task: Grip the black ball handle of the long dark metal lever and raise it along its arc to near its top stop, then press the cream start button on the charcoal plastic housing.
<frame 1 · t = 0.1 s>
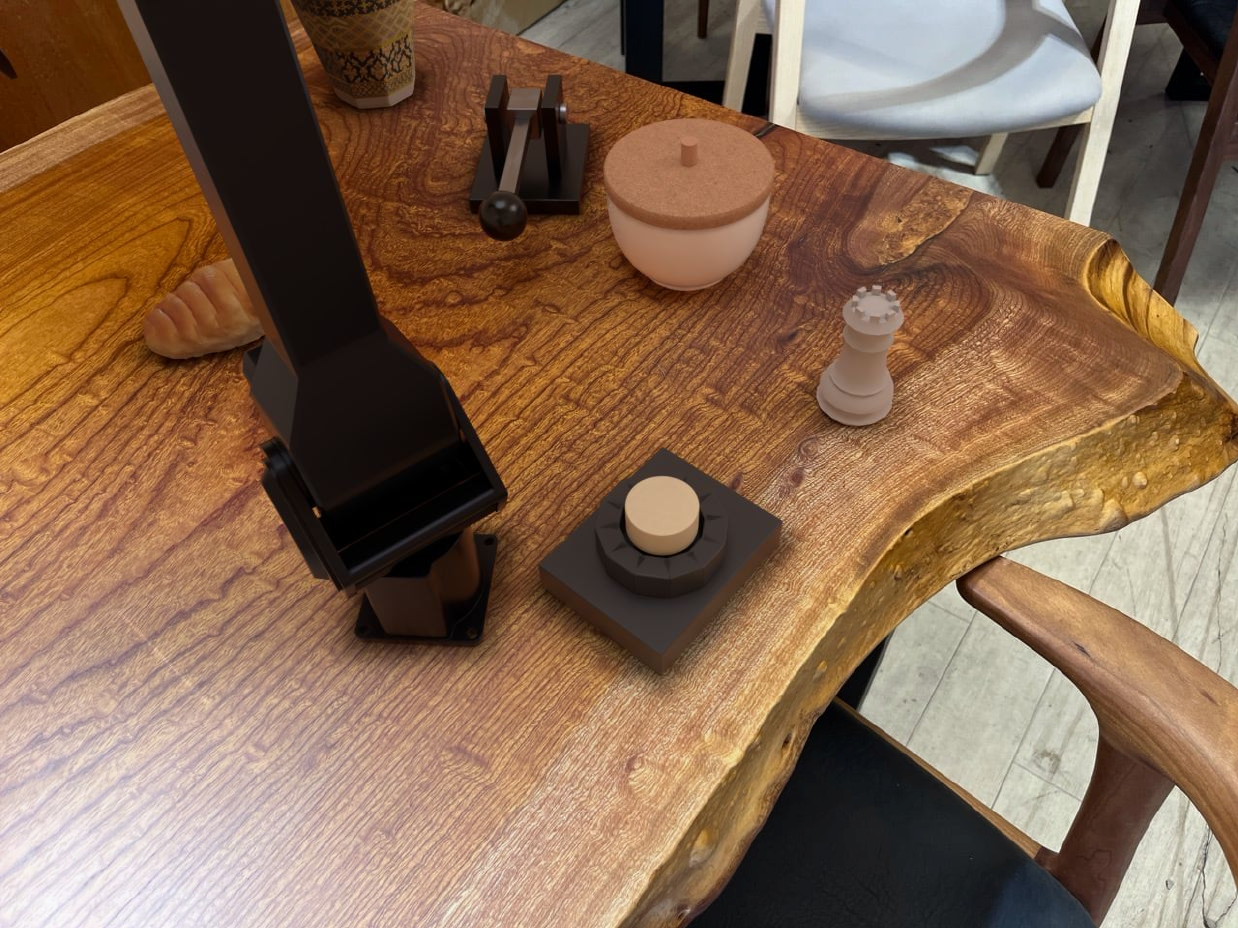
hand: (92, 48, 56), 15 cm above the table, tool pointing down, fingers open, 9 cm apart
rook chess piece: (852, 404, 58), on the table
lever bracket: (533, 173, 73), on the table
toaster lever: (515, 163, 66), point 5 cm above the table, hinge at 0.0°
pastry: (235, 324, 64), on the table
button housing: (661, 565, 51), on the table
ceramic cup: (366, 85, 83), on the table
start button: (662, 515, 47), point 5 cm above the table, slide at 0.2 cm
trinket box: (686, 264, 66), on the table
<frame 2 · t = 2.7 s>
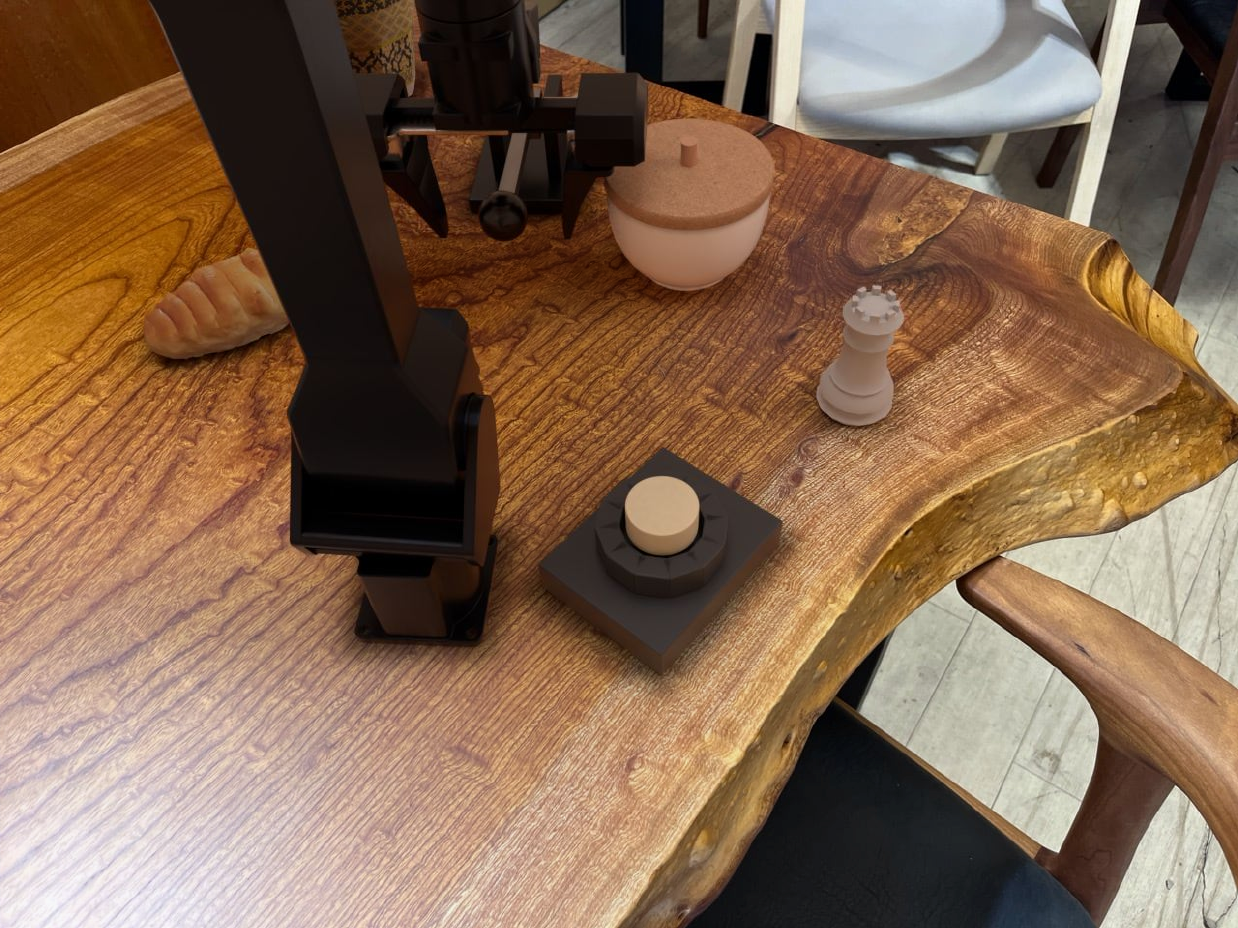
hand: (506, 234, 63), 3 cm above the table, tool pointing down, fingers open, 8 cm apart
trinket box: (686, 264, 66), on the table, touching gripper
everything else where it was.
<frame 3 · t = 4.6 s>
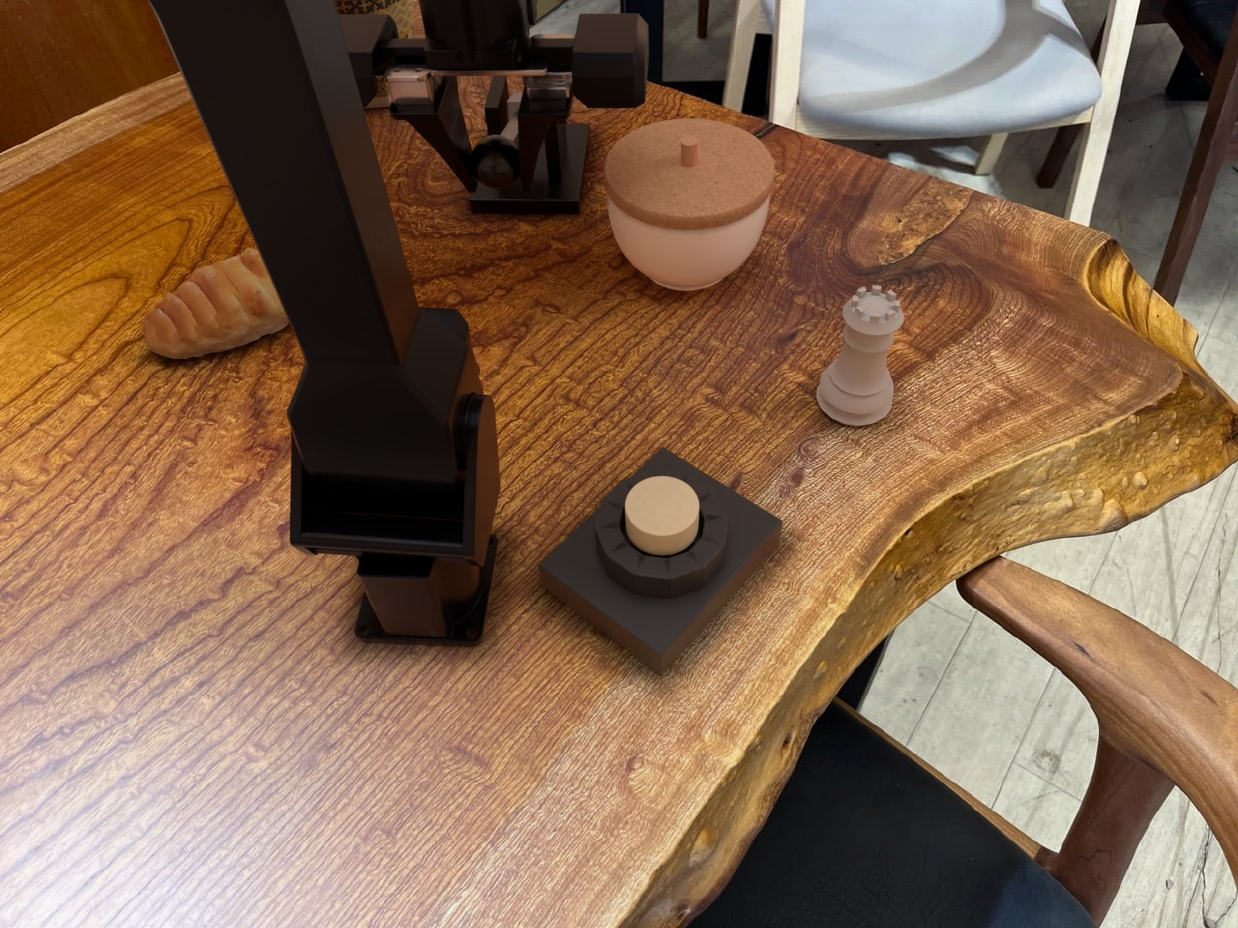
hand: (501, 189, 61), 7 cm above the table, tool pointing down, fingers closed on toaster lever, 3 cm apart
toaster lever: (512, 136, 64), point 7 cm above the table, hinge at 17.5°, touching gripper
trinket box: (686, 264, 66), on the table
everything else where it was.
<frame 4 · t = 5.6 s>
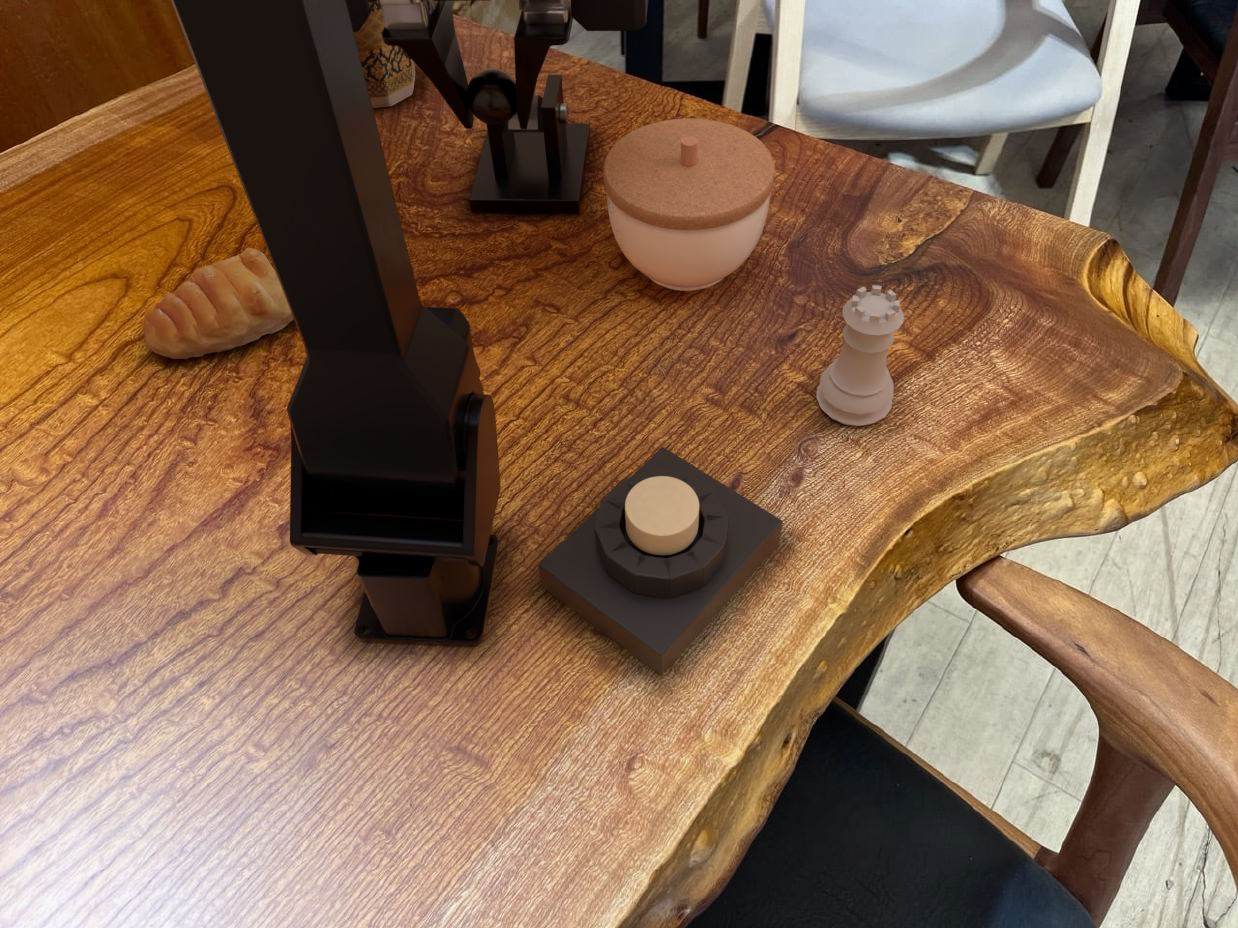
hand: (497, 125, 59), 10 cm above the table, tool pointing down, fingers closed on toaster lever, 3 cm apart
toaster lever: (510, 106, 63), point 9 cm above the table, hinge at 35.7°, touching gripper
everything else where it was.
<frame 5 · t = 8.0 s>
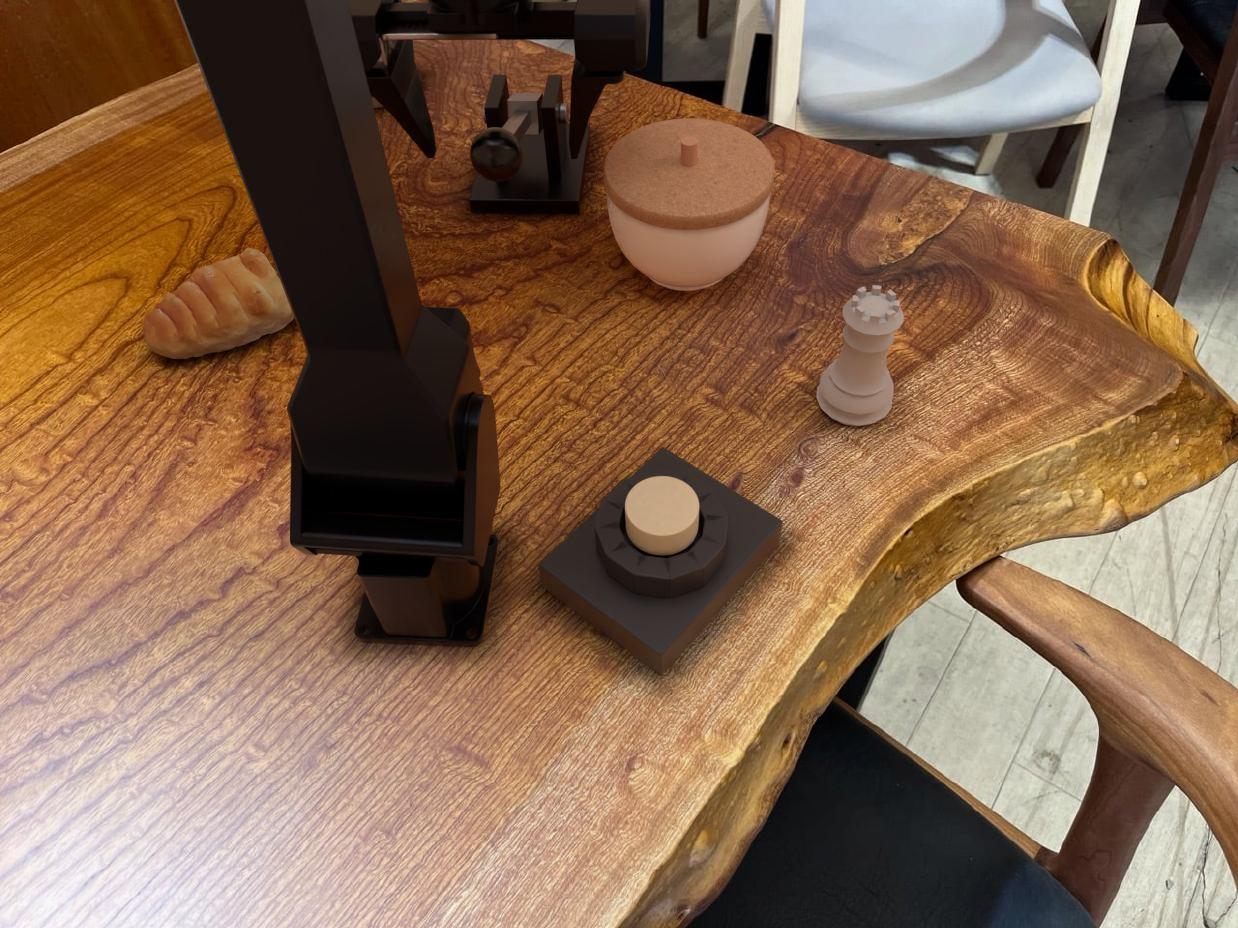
hand: (503, 155, 61), 8 cm above the table, tool pointing down, fingers open, 9 cm apart
toaster lever: (512, 133, 64), point 7 cm above the table, hinge at 19.7°
everything else where it was.
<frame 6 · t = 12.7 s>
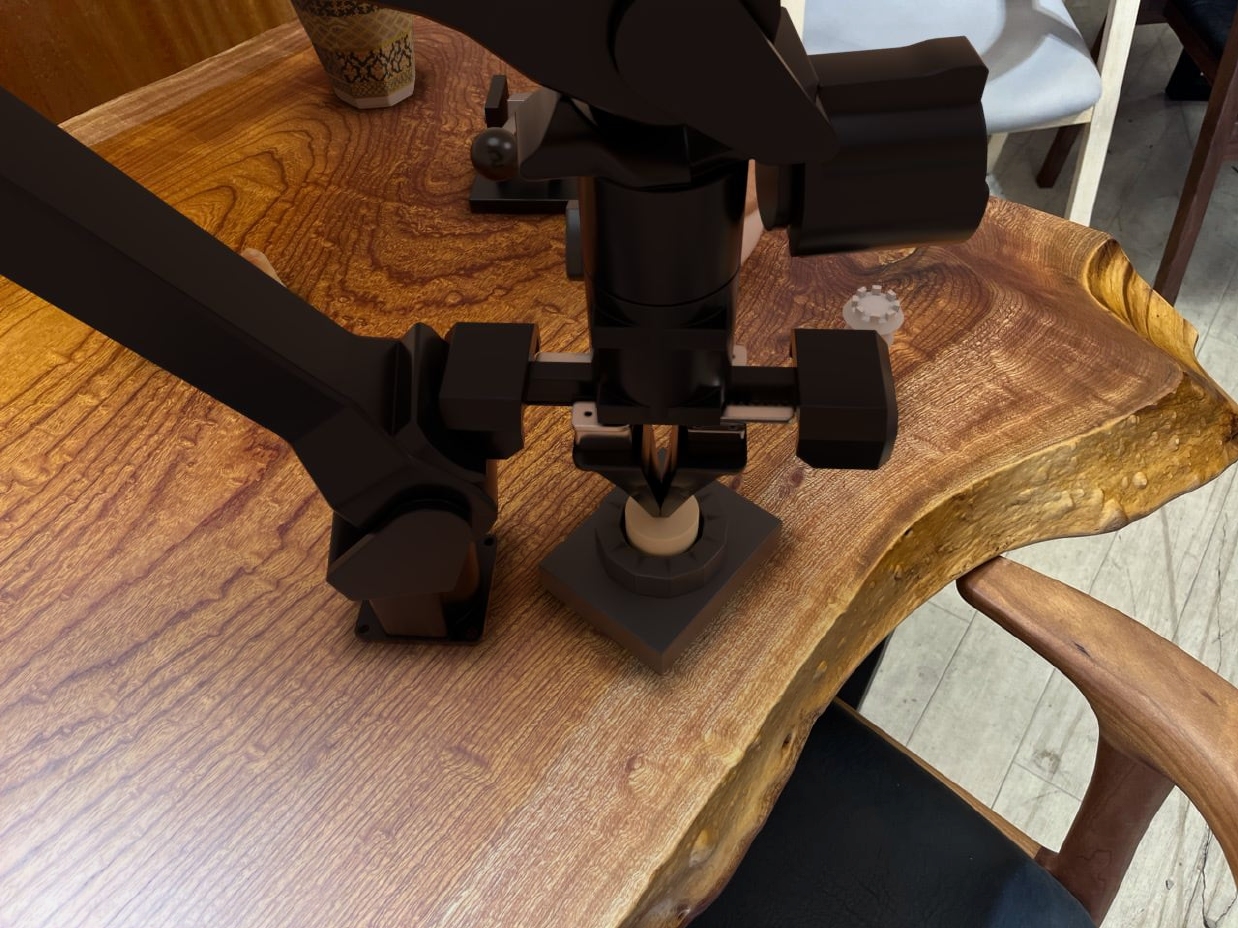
hand: (660, 509, 47), 5 cm above the table, tool pointing down, fingers closed, pressing on start button
start button: (662, 520, 47), point 4 cm above the table, slide at -0.3 cm, touching gripper
everything else where it was.
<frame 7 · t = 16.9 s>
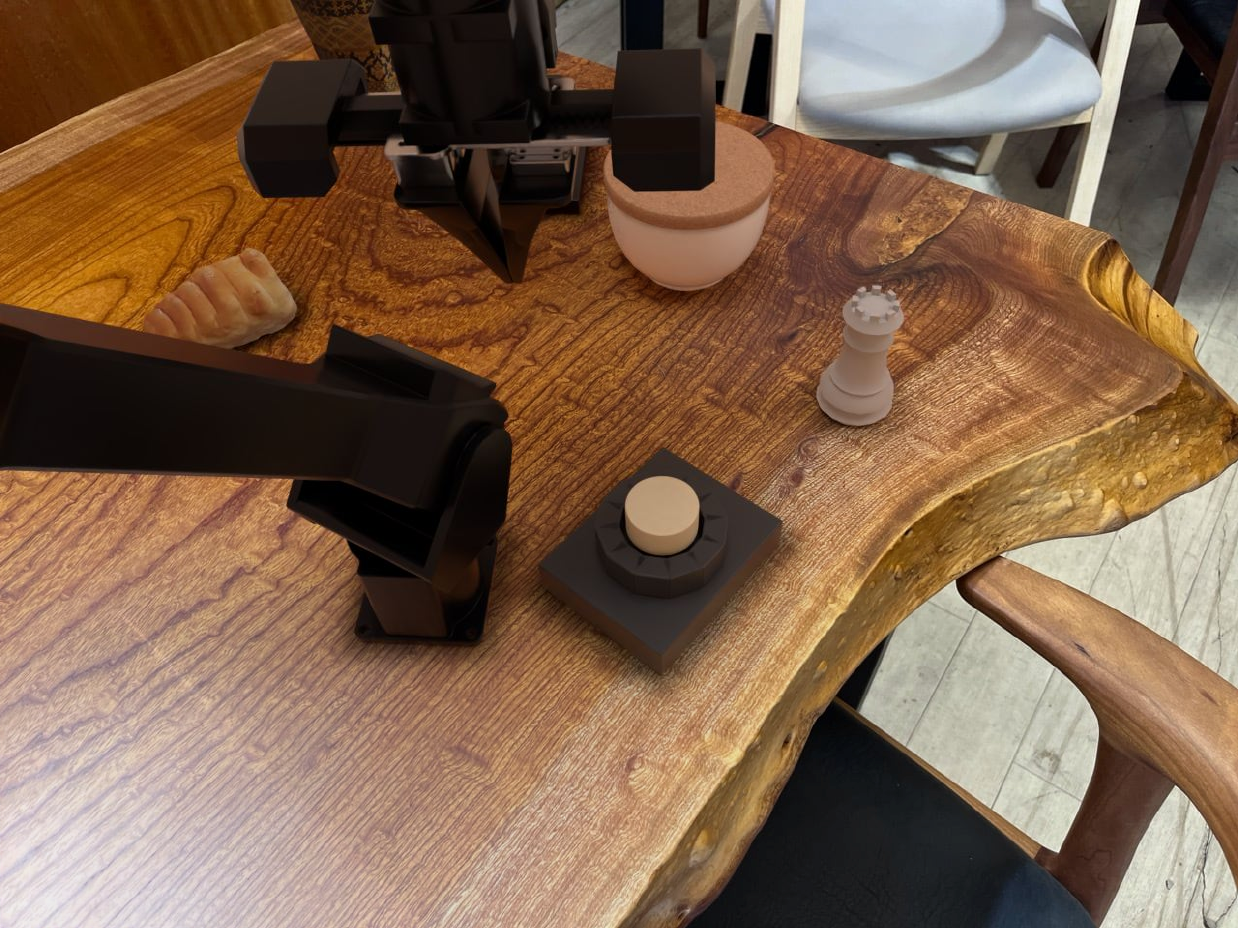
hand: (515, 277, 46), 13 cm above the table, tool pointing down, fingers closed
start button: (662, 515, 47), point 5 cm above the table, slide at 0.2 cm
everything else where it was.
at the end: toaster lever at +20° (first picture: +0°); start button pushed in 1.1 cm at the most during the clip, back to 0.2 cm at the end; start button slide at 0.2 cm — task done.
